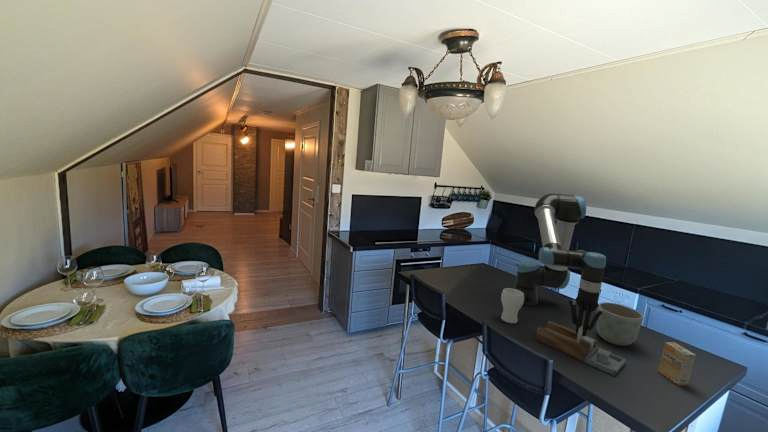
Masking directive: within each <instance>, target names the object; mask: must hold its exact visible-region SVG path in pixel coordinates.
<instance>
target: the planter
mask: <svg viewBox="0 0 768 432" xmlns="http://www.w3.org/2000/svg"><path fill="white" fill-rule="evenodd" d="M598 305H599V308H600V309H601V310H604V313H602V314H601V315H600V317H599V318H598V320H597V322H596V324H595V326H596V330H597V333H598V335H599V336H600V337H601V338H602V339H603V340H604V341H606V342H608V343H610V344H612V345H616V346H619V347H620V346H621V347H625V346H627V347H628V346H630V345H632V344H633V343H634V342H635V341H636V340H637V338H638V336H639V333H640V329H641V326H642V323H643V320H644V315H643V314H642V313H641V312H640V311H638V310H637V309H634V308H631V307H629V306H626V305H623V304H620V303H614V302H606V301H605V302H604V301H603V302H600V303H598Z"/></svg>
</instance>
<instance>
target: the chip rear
mask: <svg viewBox="0 0 768 432" xmlns="http://www.w3.org/2000/svg"><path fill="white" fill-rule="evenodd" d="M586 336H587V335H586ZM586 336H585V337H584V336H583V337H582V338H581V339H580V344H581V345H584V346H586V347H588V351H589V352H590V351H591V350H592V349H593V345H594V340H593V339H594V338H593V339H591V338H592V337H591V338H588V337H586Z"/></svg>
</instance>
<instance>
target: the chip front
mask: <svg viewBox="0 0 768 432" xmlns="http://www.w3.org/2000/svg"><path fill="white" fill-rule="evenodd" d="M599 348H600V349H599V350H598V351H597V355H596V360H597V361H599V362H601V363H603V364H606V365H607V364H608V363H609V362H610V357H611V353H612V352H611V351H608V350H607V349H604V348H602V347H599Z"/></svg>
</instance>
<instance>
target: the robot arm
mask: <svg viewBox="0 0 768 432" xmlns="http://www.w3.org/2000/svg"><path fill="white" fill-rule="evenodd" d="M586 214H587V202H586V200H585V198H584V197H583V196H580V195H574V194H564V193H562V194H561V193H547V194H545V195H543V196H541V197H540V198H539V199H538V200H537V202H536V203H535V206H534V215H535V217H536V218H537V221H538V227H539V232H540V239H541V244H542V247H541V248H539V251H538V261H539V262H538V261H533V260H523V261H520V262H519V263H518V264H517V265H518V266H517V268H516V275H515V284H514V286H513V288H512V289H517V290H519V291H521V292H523V294H524V303H523V305H522V306H527V307H528V306H529V307H533V306H534V307H535V306H537V305H538V303H539V298H538V294H537V293H538V292H537V289H538V286H539V287H545V288H549V289H550V288H552V289H557V290H558V289H559V290H562V289H566V288H567V287H568V285H569V282H570V276H571V271H570V270H569V269H568V268H572V269H578V270H581V274H580V279H579V288H578V290H577V296H576V297H575V299H571V300H569V301H568V303H569V305H570V309H571V310H570V312H571V322H572V324H573V325H575V326H576V327H575V331H576V333H577V334H578V335H577V341H576V342H578V343H580V339H581V338H582V337H583V336H584V337H585V336H588V335H587V334H588V331H591V330H592V329H594V327H595V326H596V324H597V320H598V318H599V317H600V315H601V314H602V313H604V310H601V309H600V308H599V301H600V300H599V299H600V294H601V293H600V292H601V288H602V284H603V278H604V275H605V274H604V273H605V268H606V265H607V257H606V255H604V254H601V253H598V252H593V251H592V252H591V251H586V250H583V249H579V250H570V247H571V242H572V238H573V234H574V230H575V225H577V224H578V223H580V219H584V218H585V217H586ZM541 264H543V265H541ZM577 307H578V313H577ZM593 311H595V315H594V316H593V318H592V320H591V315H592V312H593ZM577 314H578V315H577ZM584 314H585V316H584ZM583 320H584V321H583ZM590 320H591V322H590Z"/></svg>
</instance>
